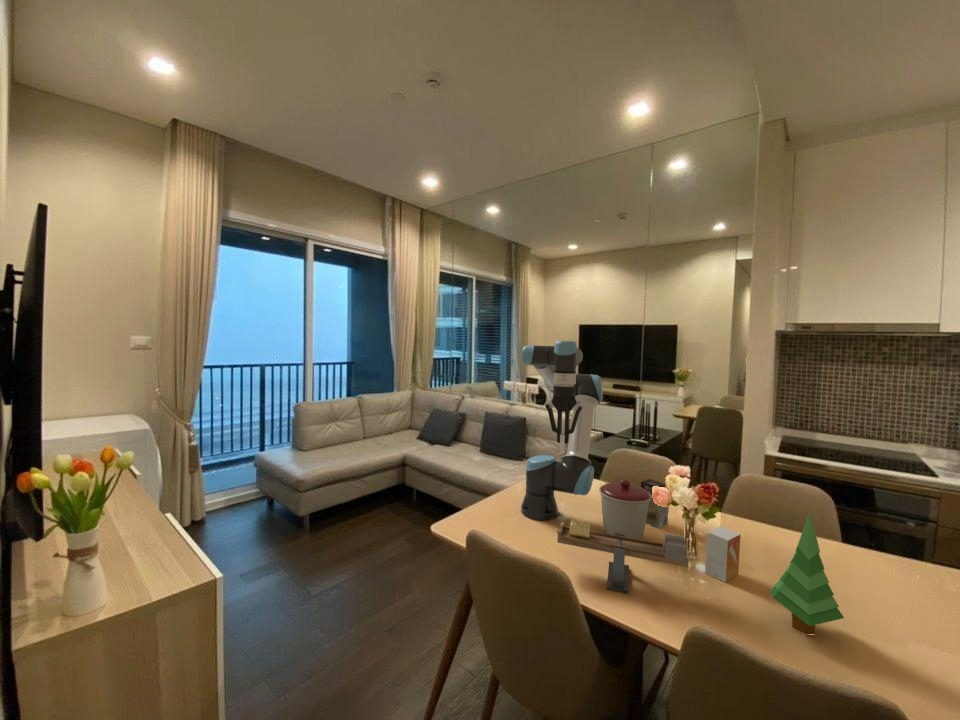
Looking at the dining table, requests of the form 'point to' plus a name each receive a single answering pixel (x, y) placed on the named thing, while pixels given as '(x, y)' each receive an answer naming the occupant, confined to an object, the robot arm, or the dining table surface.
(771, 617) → the dining table surface
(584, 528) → the block
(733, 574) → the small box
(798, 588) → the decorative tree
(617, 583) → the beam stand
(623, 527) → the canister
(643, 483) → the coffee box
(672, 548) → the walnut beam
